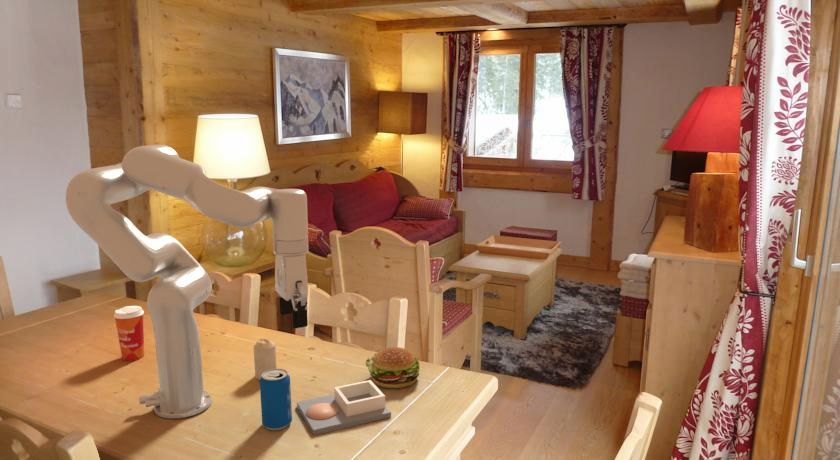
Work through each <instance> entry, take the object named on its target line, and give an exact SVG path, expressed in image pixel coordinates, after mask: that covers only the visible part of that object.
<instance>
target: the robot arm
mask: <svg viewBox="0 0 840 460" xmlns="http://www.w3.org/2000/svg"><path fill="white" fill-rule="evenodd" d="M65 190H66V191H65V205H66V209H67V212H68V214H69V216H70V217H71V218H72V220H73V221H74V223H75V224H76V225H77V226H78V228H79V229H81V230H82V231H83V232H84V233H85V234H86V235H88V236H89V237H90V238H91V239H92V240H93V241H94V242H95V243H96V244H97V246H98V247H99V248H100V249H101V250H102V251H103V253H105V254H106V256H107V257H109V259H110V260H111V261H112V262H113V263H114V264H115V265H116V266H117V267H118V268H119V269H120V271H121V272H122V273H123V274H124V275H125V276H127V277H126V278H129V279H130V280H131V281H133V282H137V283H145V282H148V281H150V280H153V279H155V278H156V277H160V278H161V279H159V281H157V282H155V283H154V284H153V286H152V288H150V290H149V292H148V295H147V299H146V300H147V301H146V303H147V304H146V305H147V309H148V312H149V317H150V319H151V324H152V328H153V333H154V341H155V343H154V345H155V353H156V362H157V374H158V384H159V385H158V386H159V387H157V391H155V392H153V393H152V394H145V395H139V396H138V401H139V405H145V408H149V407H152V406H153V407H154V409H153V410H154V413H155V414H156V416H158V417H161V418H163V419H172V420H173V419H175V420H176V419H185V418H189V417H192V416H196V415H198V414H200V413H202V412H204V411H205V410H207V409H208V408H209V407H210V406H211V404H212V396H211V394H210V393H209V392H207V391H206V390H204V389H205V388H204V377H203V363H202V353H201V351H202V350H201V338H200V337H201V336H200V331H199V325H198V323H197V320H196V318H195V314H194V309H196V307H198V306H199V305H201V304H203V302H205V301H206V300H207V299H208V298H209V296H210V295H211V292H212V289H213V288H212V287H213V285H212V280H211V278H210V276H209V274H208V272H207V270H206V269H205V268H204V267H203V266H202V265H201V264H200V263H199V262H198V260H197V259H196V258H195V257H194V256H193V255H192V254H191V252H190V251H188V250H187V249H186V247H185V246H184V245H182V243H181V242H180V241H179V240H178V239H176V238H175V237H173V236H172V235H170V234H167V233H164V232H154V233H150V234H148V235H145V234H144V233H143V232H141V231H140V229H139V228H137V226H136V225H135V224H134V223H133V222H132V220H131V219H129V218H128V217H127V216H125V215H124V214H122V213H120V212H119V211H118V210H116V209H114V208H113V206H111V205H114V204H116V203H120V202H125V201H128V200H130V199H133V198H135V197H138V196H140V195H142V194H144V193H147V192H148V191H150V190H153V191H155V192H159V193H162V194H164V195H167V196H170V197H173V198H176V199H178V200H180V201H181V200H182V201H184V202H186V203H187V204H189V205H190V206H191V207H192V208H194V209H195V210H197V211H198V212H199V213H201V214H203V216H205V217H208V218H210V219H213V220H216V221H219V222H221V223H223V224H224V223H225V224H227V225H231V226H233V227H238V228H250V227H254V226H256V225H257V224H260V223H262V222H265V221H267V220H272V221H271V222H272V224H271V225H272V226H271V227H272V243H273V244H272V246H273V247H272V248H273V254H274V255H275V258H274V260H275V261H274V263H275V264H274V289H275V291H276V293H278V295H279V314H280V315H281V316H284V315H292V318H291V320H292V328H293V329H299V328H305V327H308V322H309V321H308V301H307V300H308V293H309V292H308V291H309V290H308V288H309V287H308V270H307V261H306V260H307V259H306V258H307V257H306V254H308V253H309V223H308V217H309V216H308V196H307V195H308V194H307V193H306V192H305V191H304V190H303V189H299V188H273V187H268V186H254V187H250V188H247V189H244V190H242V191H241V190H238V189H234V188H231V187H229V186H226V185H223V184H220V183H218V182H217V181H214V180H212V179H211V178H209V177H208V176H207V171H206V170H205V168H204V167H203V166H202V165H201V164H199V163H195V162H193V161H190V160H187V159H184V158H181V157H180V156H179V153H178V152H177V151H176V150H175V149H173V147H170V146H169V145H166V144H162V143H161V144H158V143H157V144H149V145H140V146H136V147H134V148H132V149H130V150H128V152H126V154H125V155H124V157H123V159H122V162H119V163H117V164H112V165H107V166H98V167H93V168H90V169H86V170H84V171H81V172H79V173H77V174H76V175H74V176H73V177H72V178H71V179H70V181H69V183H68V184H67V186H66V189H65Z"/></svg>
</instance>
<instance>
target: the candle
mask: <svg viewBox="0 0 840 460" xmlns="http://www.w3.org/2000/svg"><path fill="white" fill-rule="evenodd" d="M276 349H277V347H276V343H275V342H274V341H272V340H270V339H266V338H259V340H257V341H256V342H255V343H254V345H253V360H254V361H253V363H254V376H255V377H254V378H255V379H256V380H258V381H260V379H261V377H262V376H261V375H262V373H263V372H265V371H267V370H270V369H278V367H277V351H276Z"/></svg>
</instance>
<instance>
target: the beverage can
mask: <svg viewBox="0 0 840 460" xmlns="http://www.w3.org/2000/svg"><path fill="white" fill-rule="evenodd" d="M261 376H262V377H261V379H260V380H259V392H260V393H259V394H260V407H261V408H260V411H261V412H260V413H261V424H262V426H263V427H265V428H266V429H268V430H271V431H280V430H283V429H285V428H287V427H288V426H289V425H290V424H291V423H292V421H293V413H292V412H293V411H292V397H291V396H292V393H291V377H290V375H289V372H288V370H287V369H283V368H277V369H270V370H267V371H265V372H263V373H262V375H261Z"/></svg>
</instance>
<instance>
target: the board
mask: <svg viewBox="0 0 840 460" xmlns="http://www.w3.org/2000/svg"><path fill="white" fill-rule="evenodd" d="M333 391H334V393H333V394H330V395H325V396H320V397H314V398H311V399H306V400H301V401H297V402H296V408H297V409H298V411H299V413H300V414H301V416H302V418H303V420H304V421H305V423H306V424H307V427H308V428H309V430H310V431H311V433H312V434H313V436H317V435H320V434H325V433H329V432H334V431H338V430H341V429H347V428H350V427H354V426H359V425H364V424H366V423H371V422H376V421H379V420H384V419H388V418H391V417H392V412H391V410H390V409H389V408H388V407H387V406H386V395H385V394H384V393H383V392H382V391H381V390H380V388H379V386H378V385H376V384H375V383H374V382H373V381H372V379H370V380H369V379H368V380H363V381H360V382H355V383H350V384H349V383H348V384H344V385H340V386H339V385H338V386H334V387H333Z"/></svg>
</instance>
